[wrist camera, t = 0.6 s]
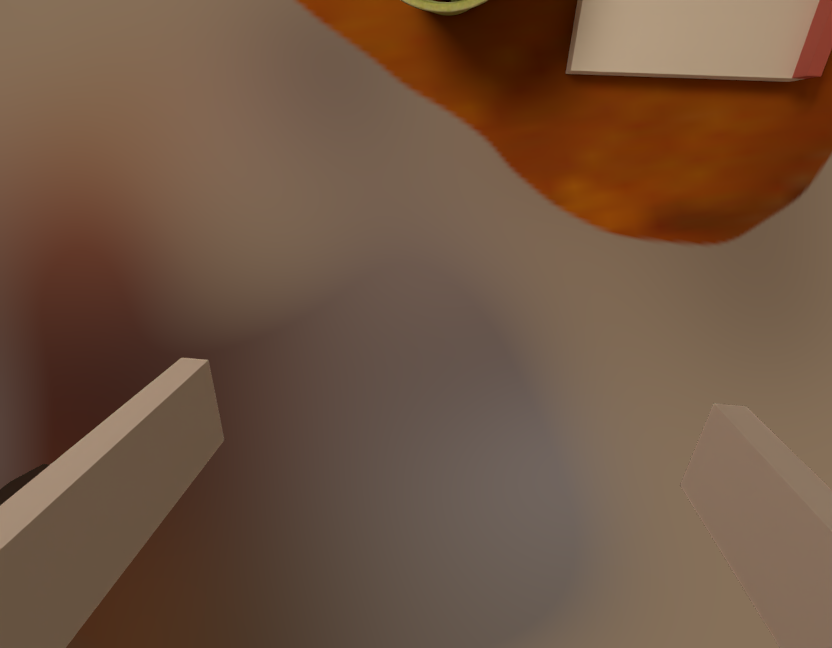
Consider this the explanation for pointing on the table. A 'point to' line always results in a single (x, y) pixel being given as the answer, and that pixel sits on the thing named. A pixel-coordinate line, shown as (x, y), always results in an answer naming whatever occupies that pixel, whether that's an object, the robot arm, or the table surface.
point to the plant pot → (445, 6)
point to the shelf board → (702, 39)
